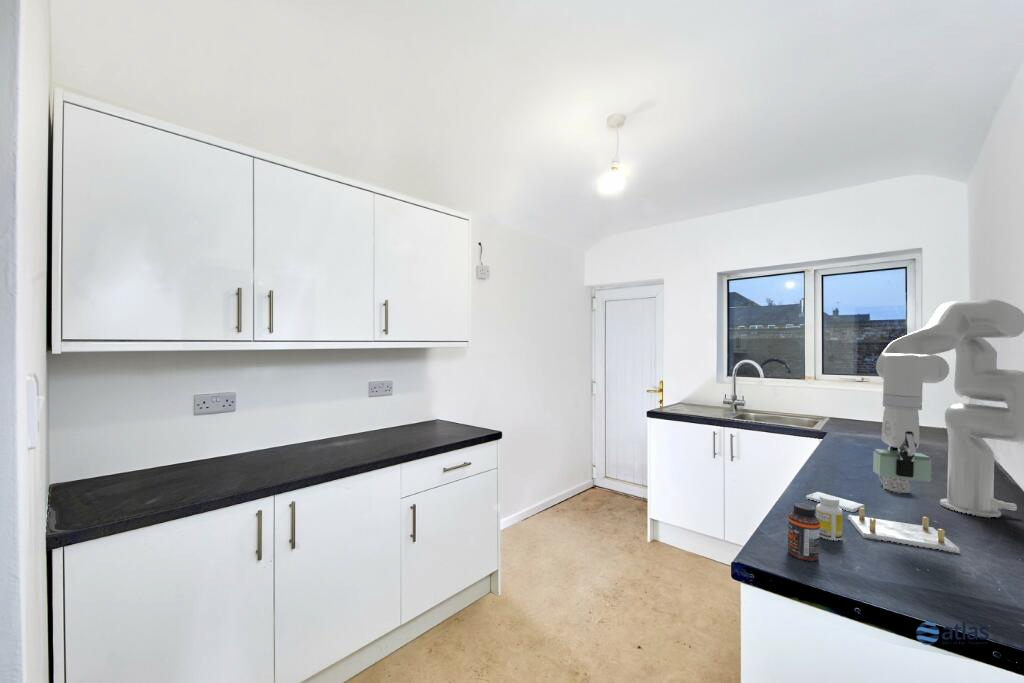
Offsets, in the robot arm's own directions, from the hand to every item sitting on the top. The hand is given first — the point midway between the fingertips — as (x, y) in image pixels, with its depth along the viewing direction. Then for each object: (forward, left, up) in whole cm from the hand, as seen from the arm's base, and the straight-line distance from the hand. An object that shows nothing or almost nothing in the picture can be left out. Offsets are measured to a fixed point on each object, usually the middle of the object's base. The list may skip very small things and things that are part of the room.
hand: (900, 472), depth 112 cm
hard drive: (+9, -20, -17) cm, 27 cm away
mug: (-13, -47, -16) cm, 51 cm away
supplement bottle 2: (+17, +10, -16) cm, 26 cm away
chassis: (0, 0, -16) cm, 16 cm away
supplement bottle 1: (+25, +25, -16) cm, 39 cm away
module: (0, 0, -1) cm, 1 cm away
